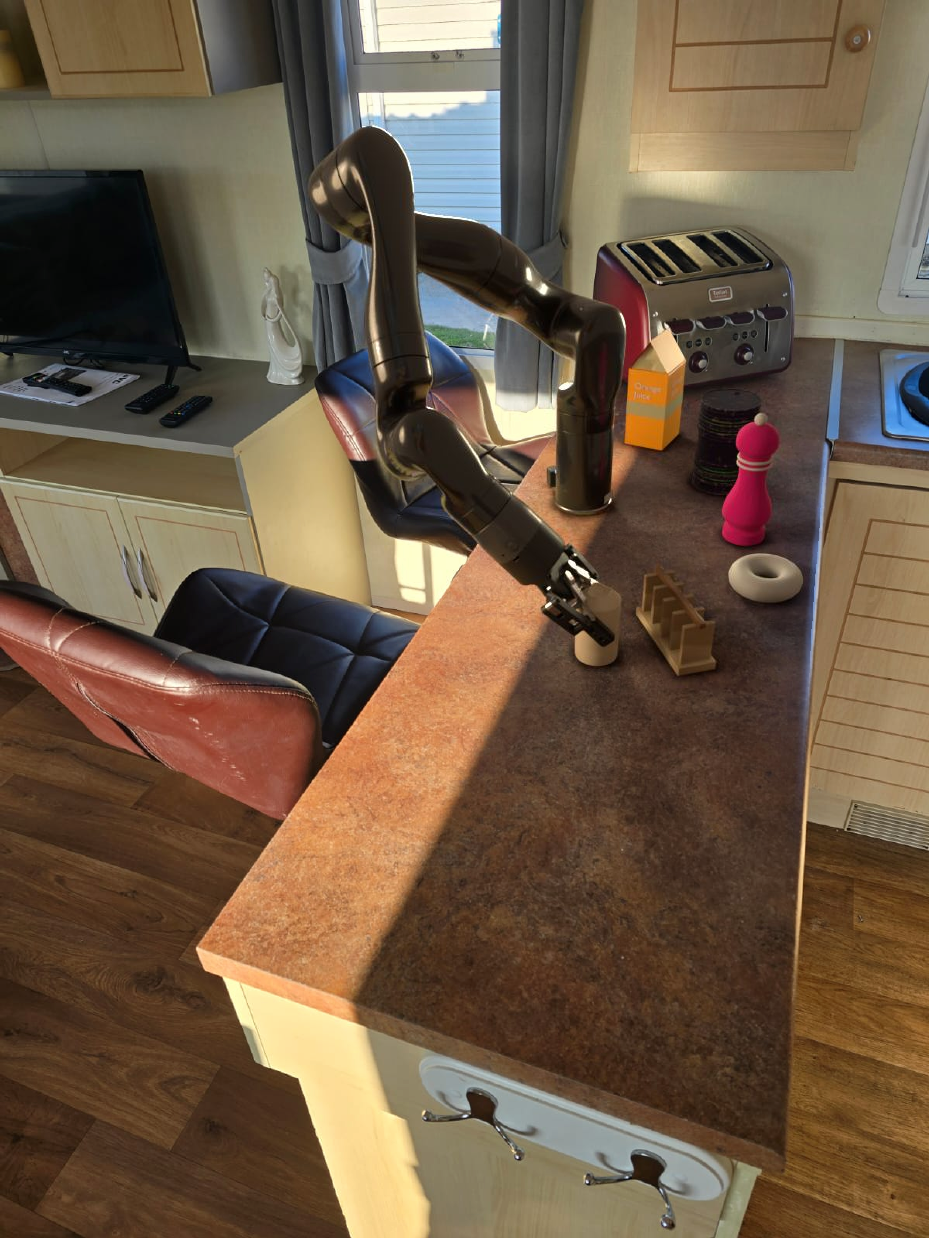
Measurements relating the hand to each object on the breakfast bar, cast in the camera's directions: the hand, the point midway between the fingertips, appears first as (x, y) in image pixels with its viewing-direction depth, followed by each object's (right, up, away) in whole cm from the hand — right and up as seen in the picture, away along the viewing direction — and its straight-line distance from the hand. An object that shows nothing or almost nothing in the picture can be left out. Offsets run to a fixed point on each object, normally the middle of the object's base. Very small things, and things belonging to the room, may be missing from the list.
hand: (611, 627), depth 107 cm
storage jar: (+26, +25, +40) cm, 54 cm away
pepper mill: (+25, +14, +25) cm, 38 cm away
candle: (-2, -4, +3) cm, 5 cm away
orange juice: (+18, +36, +57) cm, 69 cm away
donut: (+24, +5, +13) cm, 28 cm away
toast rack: (+9, -2, +4) cm, 10 cm away
